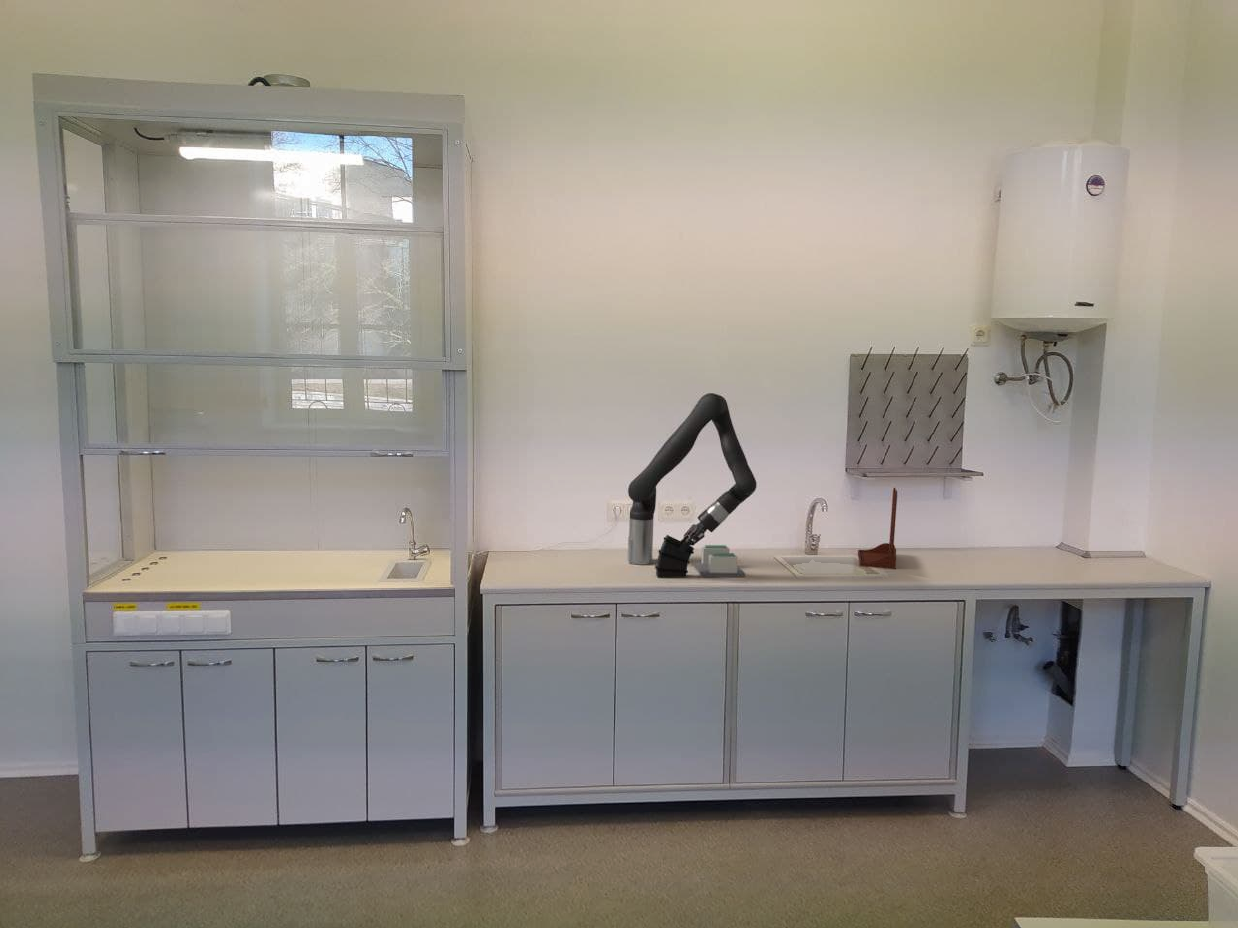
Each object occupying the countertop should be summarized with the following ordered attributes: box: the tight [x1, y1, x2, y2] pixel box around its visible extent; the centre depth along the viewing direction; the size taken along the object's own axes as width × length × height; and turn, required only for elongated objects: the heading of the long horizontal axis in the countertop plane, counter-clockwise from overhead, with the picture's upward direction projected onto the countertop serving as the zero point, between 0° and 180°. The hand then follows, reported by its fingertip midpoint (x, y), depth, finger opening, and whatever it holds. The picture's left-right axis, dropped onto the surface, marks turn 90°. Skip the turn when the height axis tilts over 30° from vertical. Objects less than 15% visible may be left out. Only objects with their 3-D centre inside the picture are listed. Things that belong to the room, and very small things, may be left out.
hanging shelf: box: [857, 487, 898, 570], centre depth 311 cm, size 24×13×30 cm, turn 165°
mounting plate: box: [692, 544, 746, 578], centre depth 287 cm, size 16×17×8 cm
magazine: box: [654, 534, 695, 578], centre depth 278 cm, size 4×13×15 cm, turn 102°
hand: (679, 548), depth 278 cm, fingers closed on magazine, 4 cm apart
